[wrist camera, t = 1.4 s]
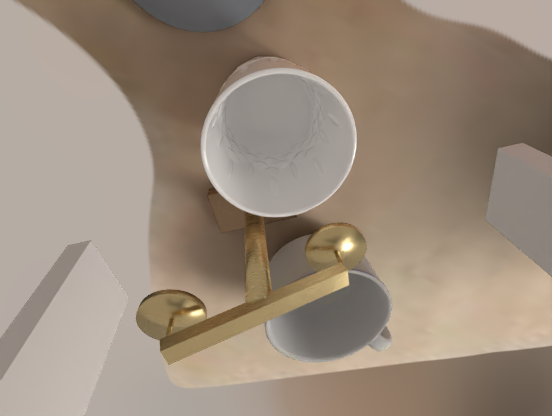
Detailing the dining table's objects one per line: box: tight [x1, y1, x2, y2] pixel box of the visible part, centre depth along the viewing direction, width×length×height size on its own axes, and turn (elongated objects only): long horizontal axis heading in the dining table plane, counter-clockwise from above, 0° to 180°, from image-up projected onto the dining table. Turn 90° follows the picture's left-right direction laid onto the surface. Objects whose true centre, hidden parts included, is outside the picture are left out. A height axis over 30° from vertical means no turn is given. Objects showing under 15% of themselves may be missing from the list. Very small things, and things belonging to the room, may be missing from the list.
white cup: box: [200, 57, 357, 217], centre depth 20 cm, size 8×8×10 cm
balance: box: [136, 188, 366, 365], centre depth 23 cm, size 15×4×14 cm, turn 101°
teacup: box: [265, 234, 392, 363], centre depth 31 cm, size 14×11×8 cm
